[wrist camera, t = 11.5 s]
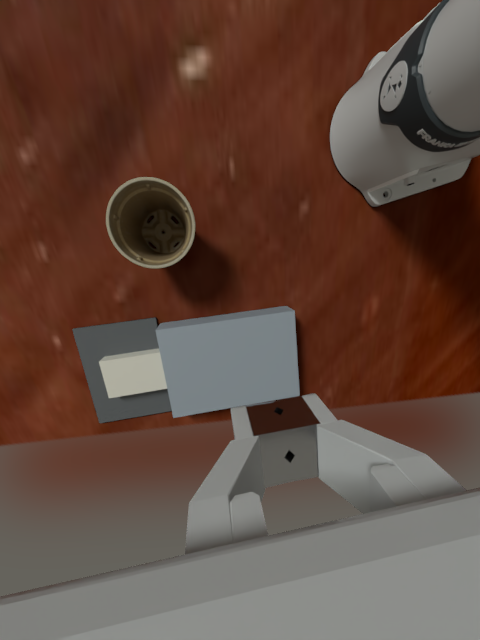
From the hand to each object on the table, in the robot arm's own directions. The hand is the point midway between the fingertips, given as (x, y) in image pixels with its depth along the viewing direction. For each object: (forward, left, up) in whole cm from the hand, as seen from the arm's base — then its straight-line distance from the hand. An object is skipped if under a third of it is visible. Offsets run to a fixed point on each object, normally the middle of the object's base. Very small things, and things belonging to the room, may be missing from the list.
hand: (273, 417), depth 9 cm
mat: (+16, +10, -31) cm, 37 cm away
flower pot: (+7, -10, -31) cm, 34 cm away
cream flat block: (+15, +10, -31) cm, 35 cm away
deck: (0, +10, -31) cm, 33 cm away
